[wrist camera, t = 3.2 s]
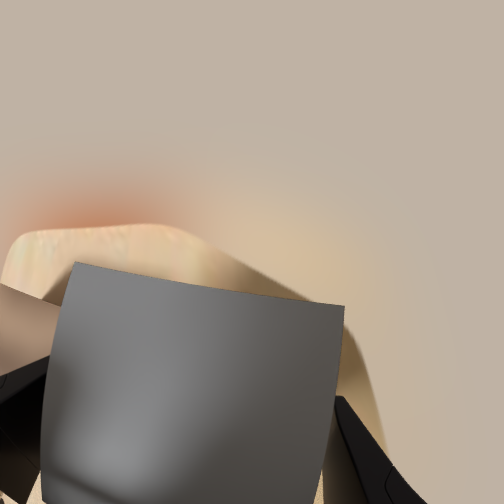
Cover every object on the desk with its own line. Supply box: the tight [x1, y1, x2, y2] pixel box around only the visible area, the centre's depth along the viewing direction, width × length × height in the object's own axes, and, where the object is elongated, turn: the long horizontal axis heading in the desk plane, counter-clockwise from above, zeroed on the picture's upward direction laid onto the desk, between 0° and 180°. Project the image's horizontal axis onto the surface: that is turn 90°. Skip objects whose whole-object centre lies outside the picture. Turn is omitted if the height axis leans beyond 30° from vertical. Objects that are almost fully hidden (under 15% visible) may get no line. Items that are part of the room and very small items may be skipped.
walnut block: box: [0, 283, 61, 376], centre depth 13 cm, size 10×8×4 cm
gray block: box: [40, 262, 345, 504], centre depth 7 cm, size 8×7×4 cm
